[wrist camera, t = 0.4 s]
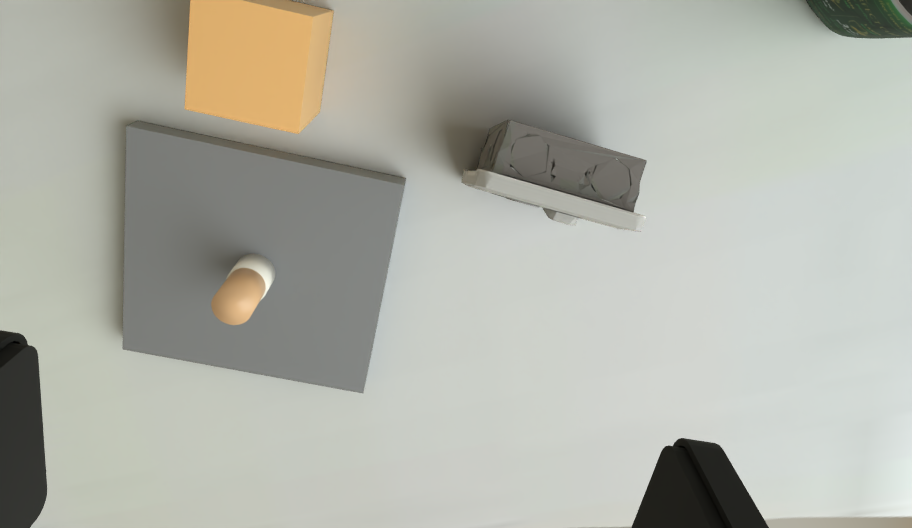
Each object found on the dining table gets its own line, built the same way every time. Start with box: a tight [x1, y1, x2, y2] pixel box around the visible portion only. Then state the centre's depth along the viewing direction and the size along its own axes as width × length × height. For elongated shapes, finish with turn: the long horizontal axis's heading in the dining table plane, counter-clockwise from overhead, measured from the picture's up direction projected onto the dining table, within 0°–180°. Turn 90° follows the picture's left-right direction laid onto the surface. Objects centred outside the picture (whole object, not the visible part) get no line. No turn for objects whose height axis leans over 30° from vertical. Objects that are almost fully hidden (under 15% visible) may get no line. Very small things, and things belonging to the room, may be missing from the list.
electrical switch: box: [462, 120, 646, 232], centre depth 37 cm, size 9×5×9 cm, turn 74°
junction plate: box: [123, 121, 406, 393], centre depth 41 cm, size 16×17×6 cm
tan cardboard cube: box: [185, 0, 334, 134], centre depth 36 cm, size 6×6×6 cm
